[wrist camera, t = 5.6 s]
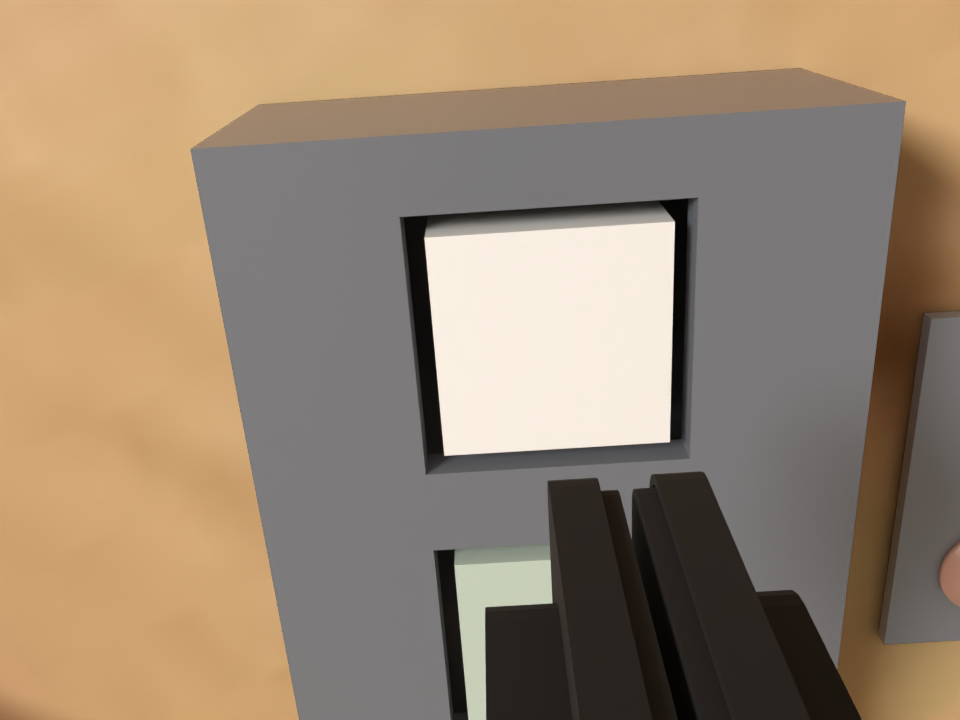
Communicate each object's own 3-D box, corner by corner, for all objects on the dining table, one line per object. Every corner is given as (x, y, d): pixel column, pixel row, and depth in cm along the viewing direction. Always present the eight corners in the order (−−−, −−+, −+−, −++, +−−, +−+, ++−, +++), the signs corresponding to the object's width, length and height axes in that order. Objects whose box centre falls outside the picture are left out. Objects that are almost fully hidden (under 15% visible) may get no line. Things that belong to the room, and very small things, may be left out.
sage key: (456, 502, 21) (454, 565, 19) (646, 491, 21) (667, 553, 19) (469, 651, 23) (468, 725, 20) (644, 642, 23) (663, 715, 20)
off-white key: (430, 204, 18) (424, 238, 16) (649, 190, 18) (675, 221, 16) (447, 401, 20) (444, 455, 18) (647, 389, 20) (669, 442, 18)
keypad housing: (258, 104, 20) (190, 148, 15) (799, 67, 20) (906, 100, 15) (369, 811, 29) (349, 982, 24) (746, 791, 29) (801, 959, 24)
